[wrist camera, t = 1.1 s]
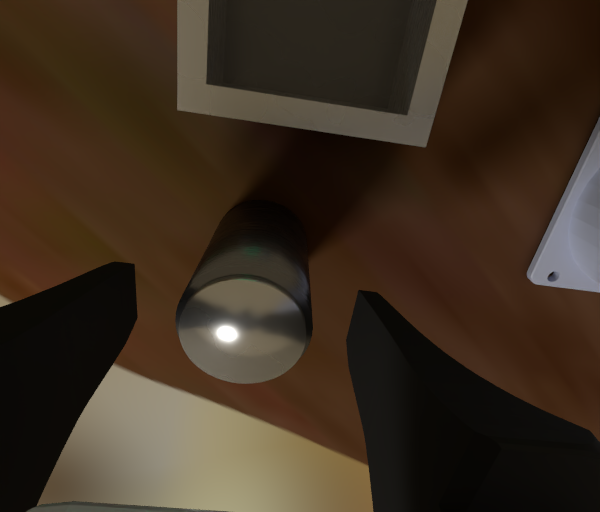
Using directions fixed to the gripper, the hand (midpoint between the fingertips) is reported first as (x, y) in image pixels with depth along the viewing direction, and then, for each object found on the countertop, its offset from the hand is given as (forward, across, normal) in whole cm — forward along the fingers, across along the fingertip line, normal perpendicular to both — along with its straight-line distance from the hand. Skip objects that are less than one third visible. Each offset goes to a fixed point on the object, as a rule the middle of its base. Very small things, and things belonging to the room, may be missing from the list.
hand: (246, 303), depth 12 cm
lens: (+5, 0, 0) cm, 5 cm away
